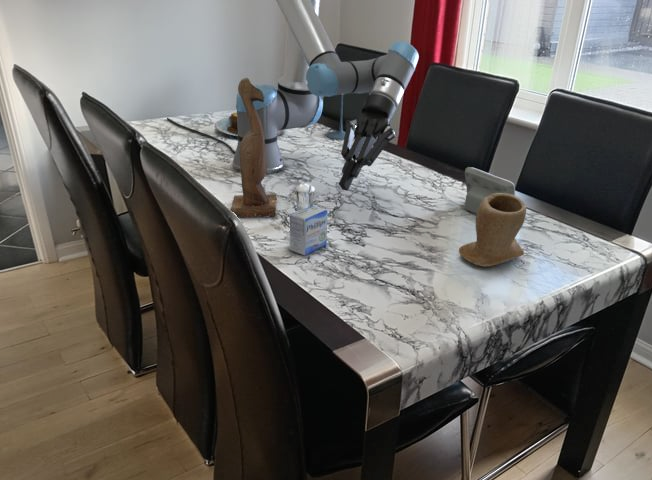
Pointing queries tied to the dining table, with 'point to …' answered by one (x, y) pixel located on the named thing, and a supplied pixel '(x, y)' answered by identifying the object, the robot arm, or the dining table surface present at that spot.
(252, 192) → the bird sculpture
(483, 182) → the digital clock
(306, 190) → the milkshake
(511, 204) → the stone cup
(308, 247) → the medicine box
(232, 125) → the food on plate
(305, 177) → the dining table surface
